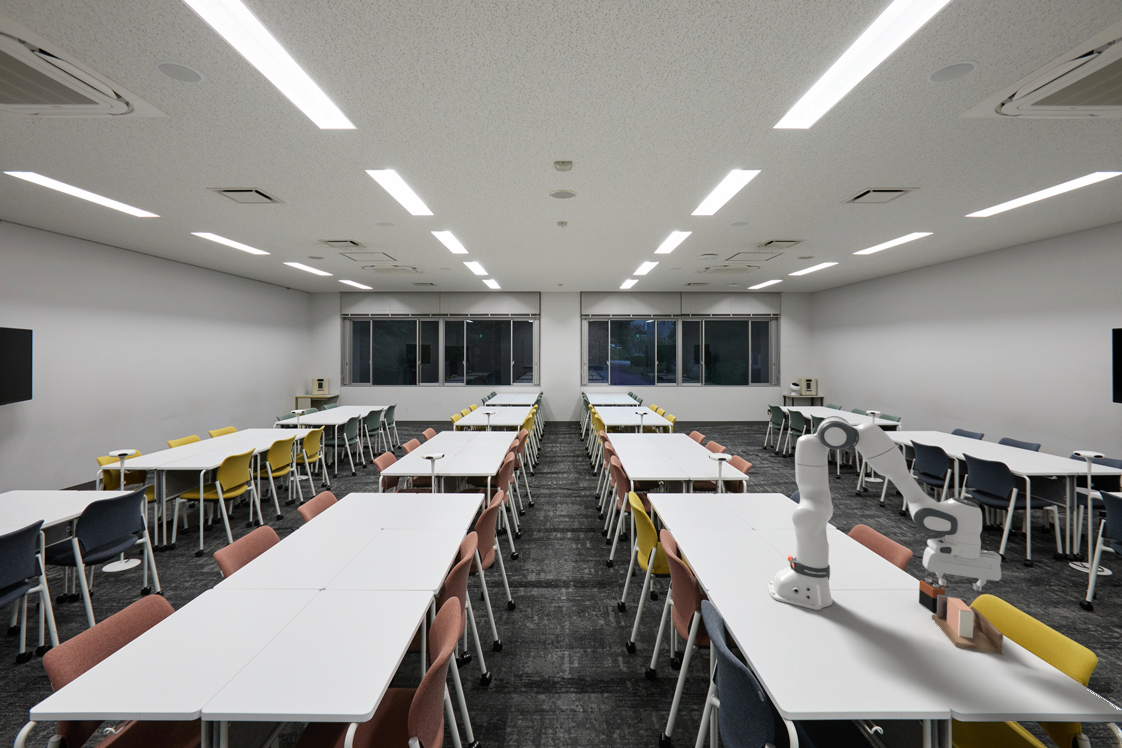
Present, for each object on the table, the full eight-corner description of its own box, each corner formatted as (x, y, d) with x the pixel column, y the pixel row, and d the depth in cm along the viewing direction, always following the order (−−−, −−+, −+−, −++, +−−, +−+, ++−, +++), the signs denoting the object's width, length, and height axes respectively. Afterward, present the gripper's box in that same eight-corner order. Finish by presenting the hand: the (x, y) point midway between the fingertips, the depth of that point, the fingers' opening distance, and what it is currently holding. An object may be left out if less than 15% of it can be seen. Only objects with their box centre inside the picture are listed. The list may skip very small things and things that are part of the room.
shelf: (955, 646, 143) (956, 627, 142) (931, 618, 158) (932, 600, 157) (1002, 654, 139) (1003, 634, 138) (973, 625, 154) (974, 606, 154)
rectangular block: (959, 636, 145) (960, 609, 145) (946, 622, 153) (947, 597, 153) (972, 638, 144) (973, 612, 144) (959, 624, 152) (960, 598, 151)
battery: (929, 602, 168) (930, 577, 167) (944, 613, 161) (945, 586, 160) (918, 602, 168) (918, 577, 167) (932, 613, 161) (933, 586, 161)
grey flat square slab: (938, 618, 155) (938, 596, 155) (936, 616, 156) (937, 594, 156) (966, 622, 153) (966, 600, 153) (964, 620, 154) (965, 598, 153)
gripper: (995, 548, 147) (992, 588, 148) (921, 539, 154) (919, 577, 154) (1007, 556, 141) (1004, 598, 142) (930, 546, 148) (927, 586, 148)
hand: (959, 587), depth 148 cm, fingers open, 8 cm apart
